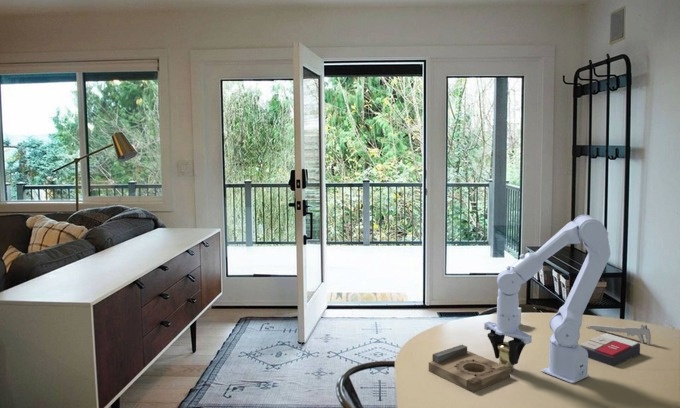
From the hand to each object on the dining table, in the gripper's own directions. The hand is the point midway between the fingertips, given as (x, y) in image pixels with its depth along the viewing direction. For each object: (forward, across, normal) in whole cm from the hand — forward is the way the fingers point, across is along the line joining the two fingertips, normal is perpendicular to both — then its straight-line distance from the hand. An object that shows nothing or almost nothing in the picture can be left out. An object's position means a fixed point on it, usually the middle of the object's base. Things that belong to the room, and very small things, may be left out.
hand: (506, 360), depth 150 cm
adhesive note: (+3, -23, +31) cm, 39 cm away
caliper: (+3, +5, +50) cm, 50 cm away
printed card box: (+3, +11, +33) cm, 35 cm away
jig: (+2, -4, -11) cm, 12 cm away
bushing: (+2, 0, 0) cm, 2 cm away
